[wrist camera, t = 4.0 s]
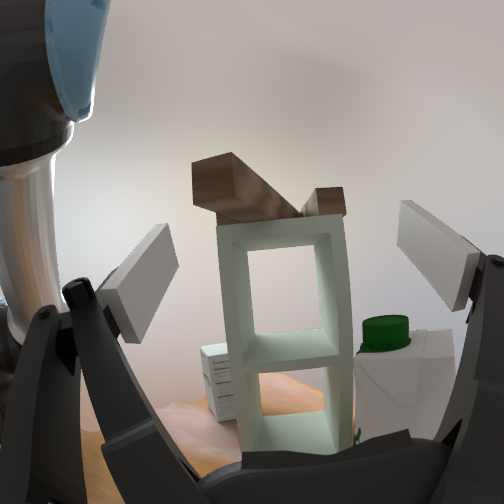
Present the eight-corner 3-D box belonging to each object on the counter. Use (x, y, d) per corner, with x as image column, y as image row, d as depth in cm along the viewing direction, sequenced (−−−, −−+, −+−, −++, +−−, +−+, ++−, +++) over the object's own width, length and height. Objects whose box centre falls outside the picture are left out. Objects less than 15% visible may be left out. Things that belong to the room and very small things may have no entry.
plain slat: (234, 195, 18) (231, 151, 19) (193, 204, 20) (191, 162, 20) (305, 235, 45) (302, 215, 45) (285, 237, 46) (283, 218, 46)
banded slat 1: (246, 223, 29) (243, 194, 30) (216, 227, 30) (214, 198, 30) (257, 237, 42) (255, 217, 42) (236, 240, 43) (234, 219, 43)
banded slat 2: (347, 214, 28) (342, 185, 29) (318, 216, 29) (314, 187, 29) (321, 231, 41) (319, 211, 42) (301, 233, 41) (298, 212, 42)
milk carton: (365, 466, 24) (371, 311, 26) (435, 470, 19) (458, 304, 20) (335, 512, 18) (341, 333, 19) (420, 522, 12) (466, 327, 13)
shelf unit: (349, 463, 26) (342, 213, 28) (244, 472, 27) (215, 226, 29) (332, 415, 40) (322, 231, 42) (254, 422, 41) (236, 240, 43)
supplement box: (207, 406, 48) (198, 345, 49) (244, 399, 51) (237, 340, 51) (216, 423, 41) (206, 355, 42) (258, 414, 44) (251, 348, 45)
